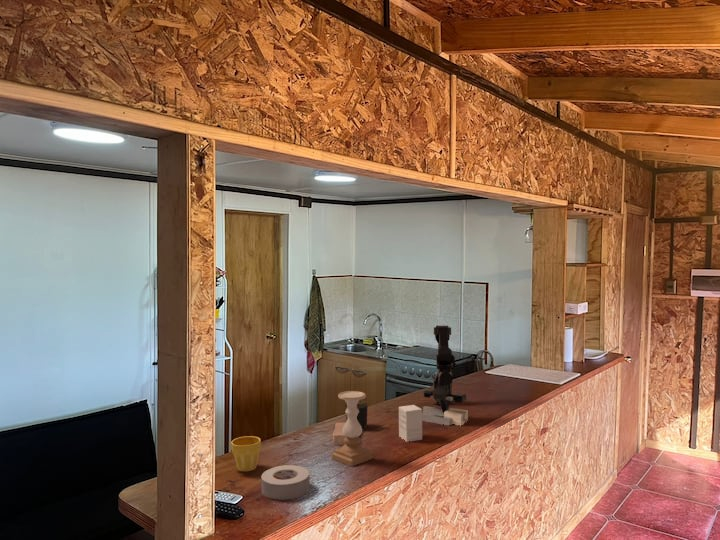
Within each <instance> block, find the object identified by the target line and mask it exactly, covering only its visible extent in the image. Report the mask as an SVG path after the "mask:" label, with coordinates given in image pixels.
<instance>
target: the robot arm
mask: <svg viewBox="0 0 720 540" xmlns="http://www.w3.org/2000/svg"><path fill="white" fill-rule="evenodd" d="M451 335H452V327H449V325H436V326H434V327H433V336H434V338H435V341H436V343H437V354H436V355H435V357H436V358H435V359H436V361H435V362H436V370H437V372H436V373H435V376H434V380H433V384H432V385H433V388H428V389H425V390H424V391H423V398H428V399H429V398H432V397H433V400H435V402H433V405H436V406H437V405H438V406H440V409H442V411H443V414H444V412H445V411H447V410H449V409H450V408H449V407H450V406H451V404H452V402H453V401H454V402H455V403H460V404H461V403H463V402H465V401H467V395H466V393H464V392H463V393H461V392H457V393H455V394H453V380H454V378H453V374H452V370H454V369H455V367H456V357H455V355H454V354H453V353H452V348H450V347H449V346H450V345H449V341H450V338H451Z"/></svg>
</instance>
